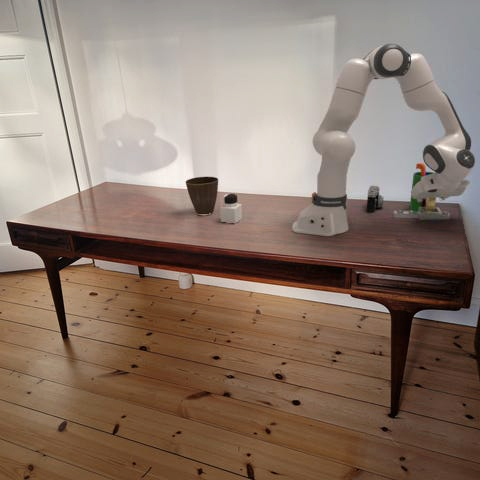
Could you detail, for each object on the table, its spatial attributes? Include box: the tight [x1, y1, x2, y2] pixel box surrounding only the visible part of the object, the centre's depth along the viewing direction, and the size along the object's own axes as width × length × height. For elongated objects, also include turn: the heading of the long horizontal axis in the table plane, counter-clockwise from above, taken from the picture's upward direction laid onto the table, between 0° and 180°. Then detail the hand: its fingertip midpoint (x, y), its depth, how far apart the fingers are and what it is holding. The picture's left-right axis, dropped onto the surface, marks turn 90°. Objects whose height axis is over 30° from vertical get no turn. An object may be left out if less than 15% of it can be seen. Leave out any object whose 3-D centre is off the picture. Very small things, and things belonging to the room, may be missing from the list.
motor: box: [409, 162, 434, 212], centre depth 185 cm, size 10×9×20 cm
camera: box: [366, 185, 384, 214], centre depth 190 cm, size 15×7×10 cm, turn 160°
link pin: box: [425, 197, 437, 212], centre depth 175 cm, size 4×4×9 cm
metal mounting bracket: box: [393, 206, 451, 222], centre depth 177 cm, size 22×8×3 cm, turn 74°
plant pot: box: [185, 176, 219, 215], centre depth 196 cm, size 15×15×16 cm
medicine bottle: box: [219, 193, 243, 224], centre depth 184 cm, size 7×7×12 cm
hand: (430, 199), depth 175 cm, fingers open, 8 cm apart
